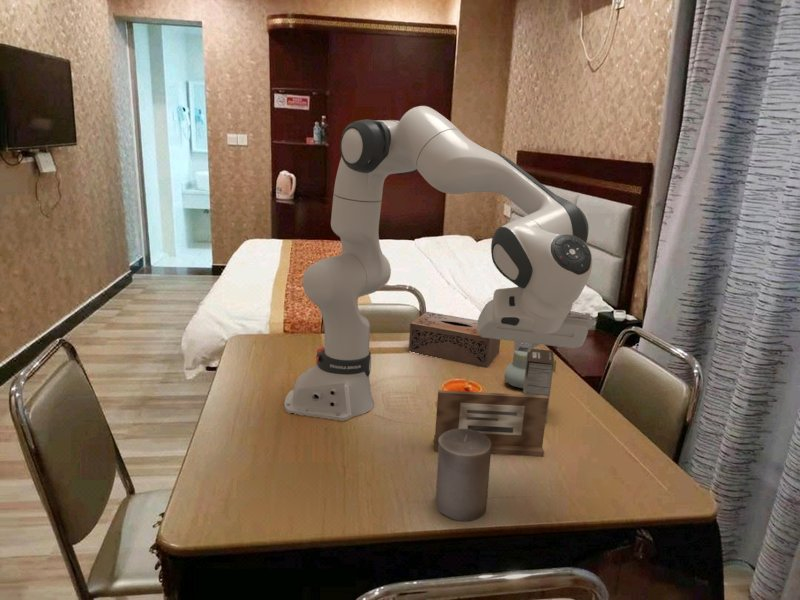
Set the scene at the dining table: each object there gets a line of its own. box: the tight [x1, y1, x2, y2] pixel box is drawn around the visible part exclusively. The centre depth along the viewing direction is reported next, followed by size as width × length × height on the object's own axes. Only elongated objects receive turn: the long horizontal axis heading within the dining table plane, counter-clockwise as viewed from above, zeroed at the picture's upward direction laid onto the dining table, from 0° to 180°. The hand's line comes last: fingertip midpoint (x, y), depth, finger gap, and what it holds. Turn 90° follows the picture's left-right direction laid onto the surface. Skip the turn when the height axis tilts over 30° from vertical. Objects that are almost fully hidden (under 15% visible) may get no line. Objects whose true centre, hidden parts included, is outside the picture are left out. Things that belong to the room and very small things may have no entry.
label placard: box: [433, 389, 549, 457], centre depth 129 cm, size 24×5×13 cm, turn 89°
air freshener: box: [503, 349, 528, 389], centre depth 164 cm, size 11×8×10 cm
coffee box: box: [522, 348, 555, 424], centre depth 146 cm, size 9×6×16 cm
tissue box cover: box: [408, 311, 501, 369], centre depth 186 cm, size 26×14×10 cm, turn 66°
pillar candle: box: [434, 429, 492, 522], centre depth 108 cm, size 10×10×15 cm
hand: (521, 348), depth 116 cm, fingers closed
